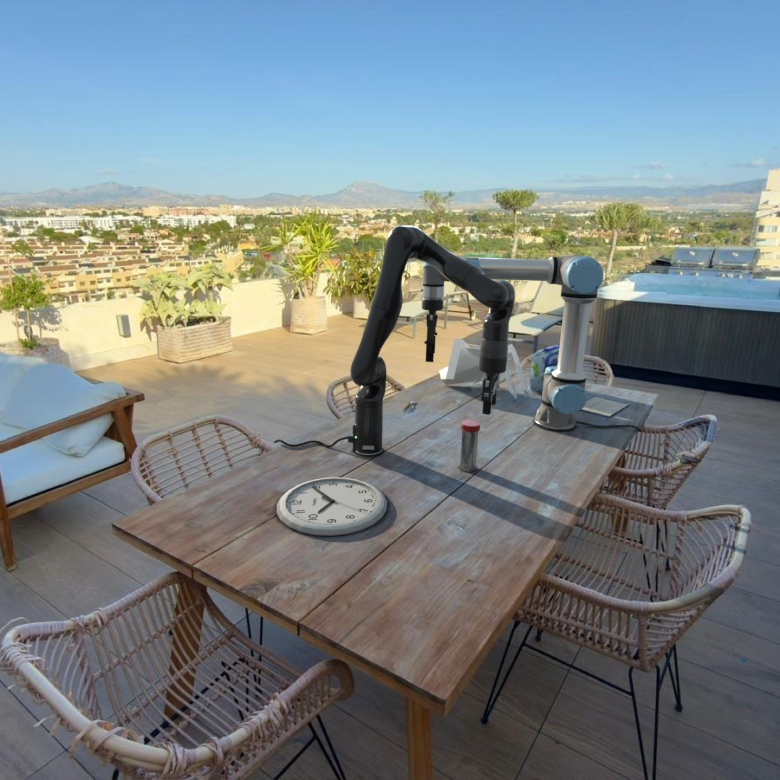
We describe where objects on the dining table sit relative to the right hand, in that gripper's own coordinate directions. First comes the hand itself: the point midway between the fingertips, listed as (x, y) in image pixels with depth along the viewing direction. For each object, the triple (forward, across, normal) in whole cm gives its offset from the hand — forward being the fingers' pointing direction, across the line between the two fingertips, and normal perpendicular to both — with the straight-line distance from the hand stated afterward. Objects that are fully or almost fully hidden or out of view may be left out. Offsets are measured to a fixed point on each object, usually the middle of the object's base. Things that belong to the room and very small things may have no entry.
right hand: (430, 357), depth 190 cm
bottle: (+28, +32, +14) cm, 45 cm away
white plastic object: (+28, -50, +22) cm, 61 cm away
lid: (+13, +32, +14) cm, 37 cm away
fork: (+28, -25, -9) cm, 39 cm away
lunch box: (+28, -59, +55) cm, 86 cm away
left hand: (+4, +41, +19) cm, 45 cm away
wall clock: (+28, +61, -23) cm, 71 cm away
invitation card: (+28, -38, +73) cm, 87 cm away
